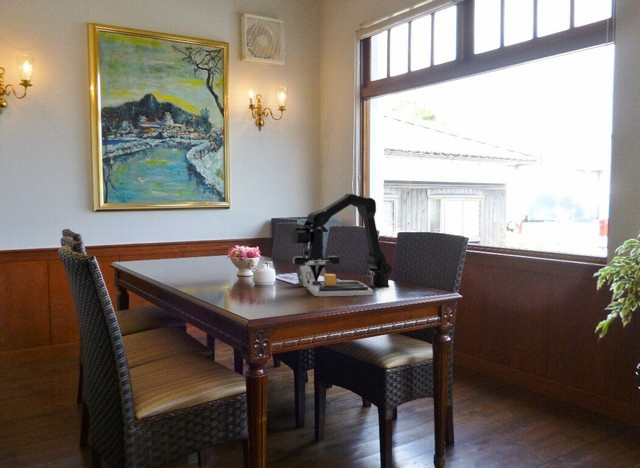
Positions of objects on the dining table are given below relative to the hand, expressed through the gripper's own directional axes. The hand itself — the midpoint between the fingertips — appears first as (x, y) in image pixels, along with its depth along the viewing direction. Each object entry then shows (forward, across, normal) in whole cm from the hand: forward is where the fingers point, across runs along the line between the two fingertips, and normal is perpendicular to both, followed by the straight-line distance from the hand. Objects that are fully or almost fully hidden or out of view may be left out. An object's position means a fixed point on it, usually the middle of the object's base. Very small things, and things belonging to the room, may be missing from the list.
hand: (316, 280), depth 232 cm
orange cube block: (+3, -6, 0) cm, 6 cm away
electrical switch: (+5, +1, -17) cm, 18 cm away
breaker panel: (+5, -10, 0) cm, 11 cm away
